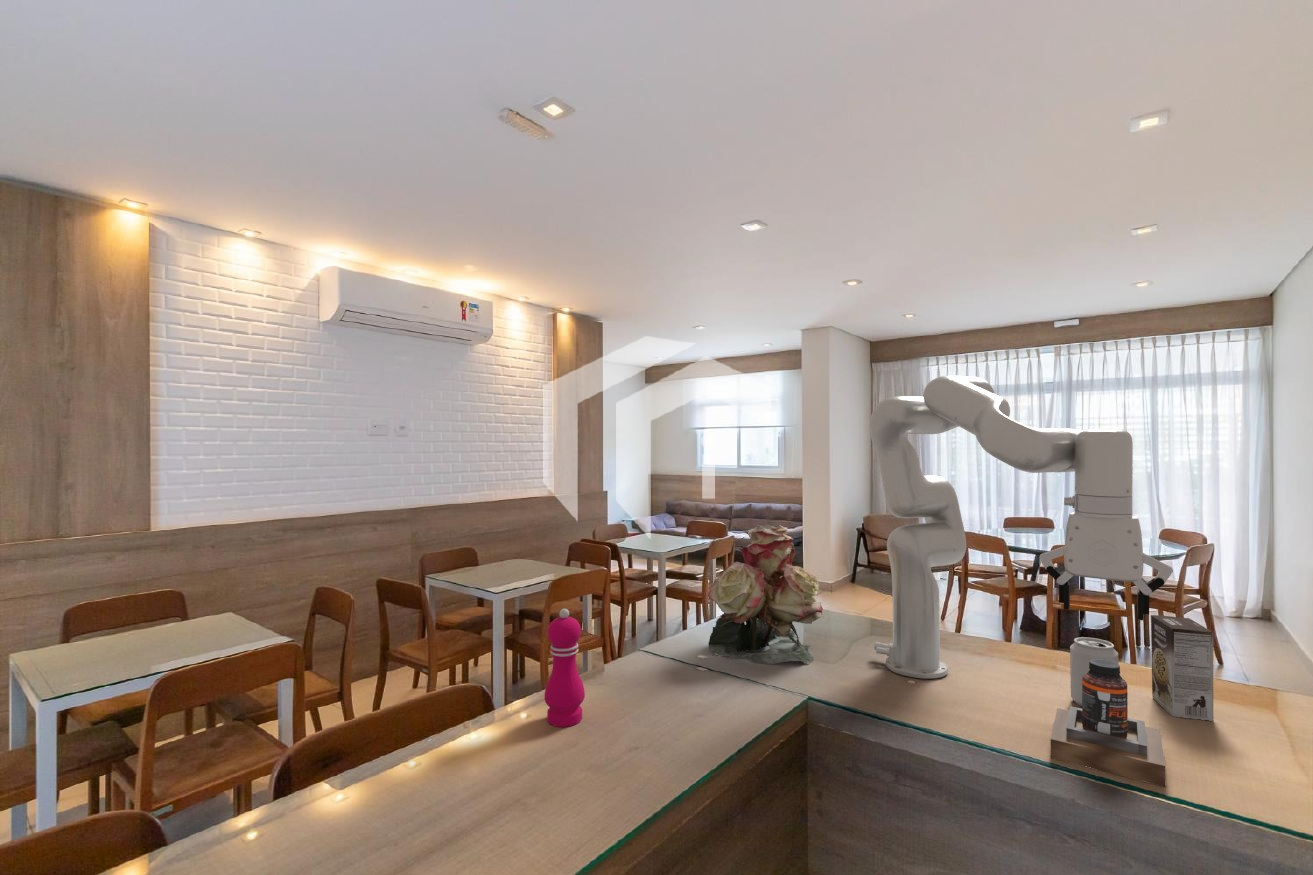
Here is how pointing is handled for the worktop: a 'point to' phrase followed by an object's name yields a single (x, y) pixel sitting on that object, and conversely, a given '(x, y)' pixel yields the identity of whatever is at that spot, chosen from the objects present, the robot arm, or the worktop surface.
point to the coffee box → (1182, 667)
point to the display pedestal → (1109, 748)
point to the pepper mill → (564, 673)
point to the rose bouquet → (764, 601)
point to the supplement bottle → (1104, 699)
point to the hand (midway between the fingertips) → (1102, 612)
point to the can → (1087, 660)
